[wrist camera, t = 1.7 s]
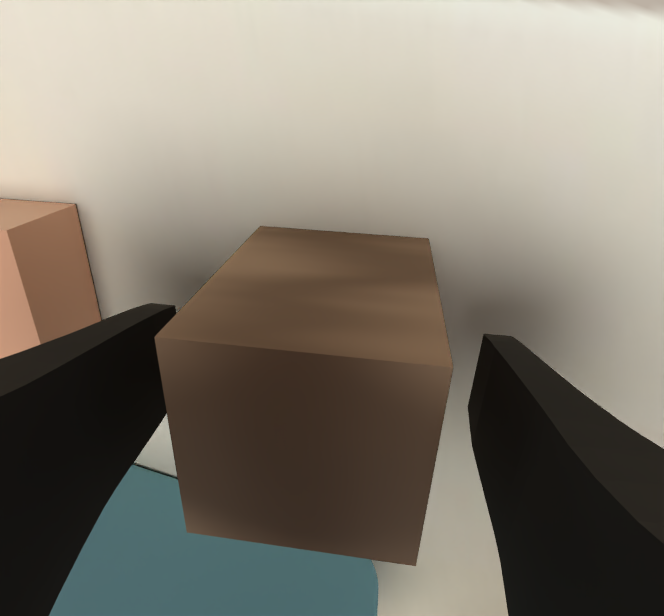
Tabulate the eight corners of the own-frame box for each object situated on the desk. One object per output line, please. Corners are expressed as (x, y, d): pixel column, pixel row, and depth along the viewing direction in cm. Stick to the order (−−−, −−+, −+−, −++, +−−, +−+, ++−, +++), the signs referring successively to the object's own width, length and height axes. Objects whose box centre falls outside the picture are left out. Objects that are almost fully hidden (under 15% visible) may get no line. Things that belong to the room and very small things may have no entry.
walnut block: (428, 238, 12) (453, 368, 6) (409, 379, 14) (415, 566, 8) (260, 225, 12) (154, 337, 7) (265, 364, 14) (186, 532, 9)
